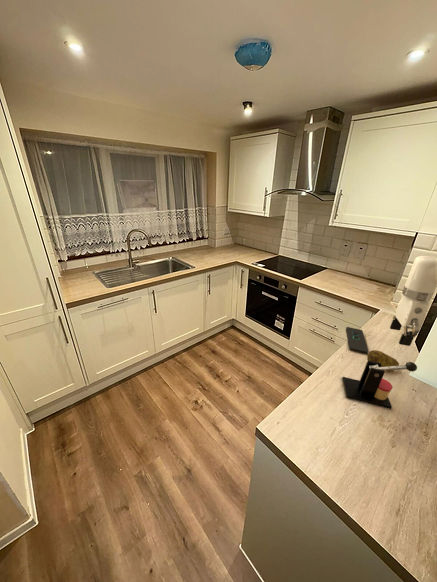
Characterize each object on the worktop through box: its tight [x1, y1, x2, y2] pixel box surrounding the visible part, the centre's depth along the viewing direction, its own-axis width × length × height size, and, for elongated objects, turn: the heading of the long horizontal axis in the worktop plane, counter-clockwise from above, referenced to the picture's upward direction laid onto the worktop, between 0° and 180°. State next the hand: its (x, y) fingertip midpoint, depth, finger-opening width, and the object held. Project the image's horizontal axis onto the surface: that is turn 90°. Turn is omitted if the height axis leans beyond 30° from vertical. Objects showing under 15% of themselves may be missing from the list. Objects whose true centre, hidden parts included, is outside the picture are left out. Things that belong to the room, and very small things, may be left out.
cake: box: [374, 378, 393, 400], centre depth 88 cm, size 6×6×5 cm
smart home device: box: [345, 326, 369, 355], centre depth 121 cm, size 8×2×20 cm
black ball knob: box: [369, 361, 418, 373], centre depth 84 cm, size 14×3×3 cm, turn 72°
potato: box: [366, 349, 400, 373], centre depth 102 cm, size 8×13×8 cm, turn 66°
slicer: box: [341, 360, 393, 410], centre depth 88 cm, size 15×10×14 cm, turn 72°
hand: (399, 336), depth 84 cm, fingers open, 9 cm apart
